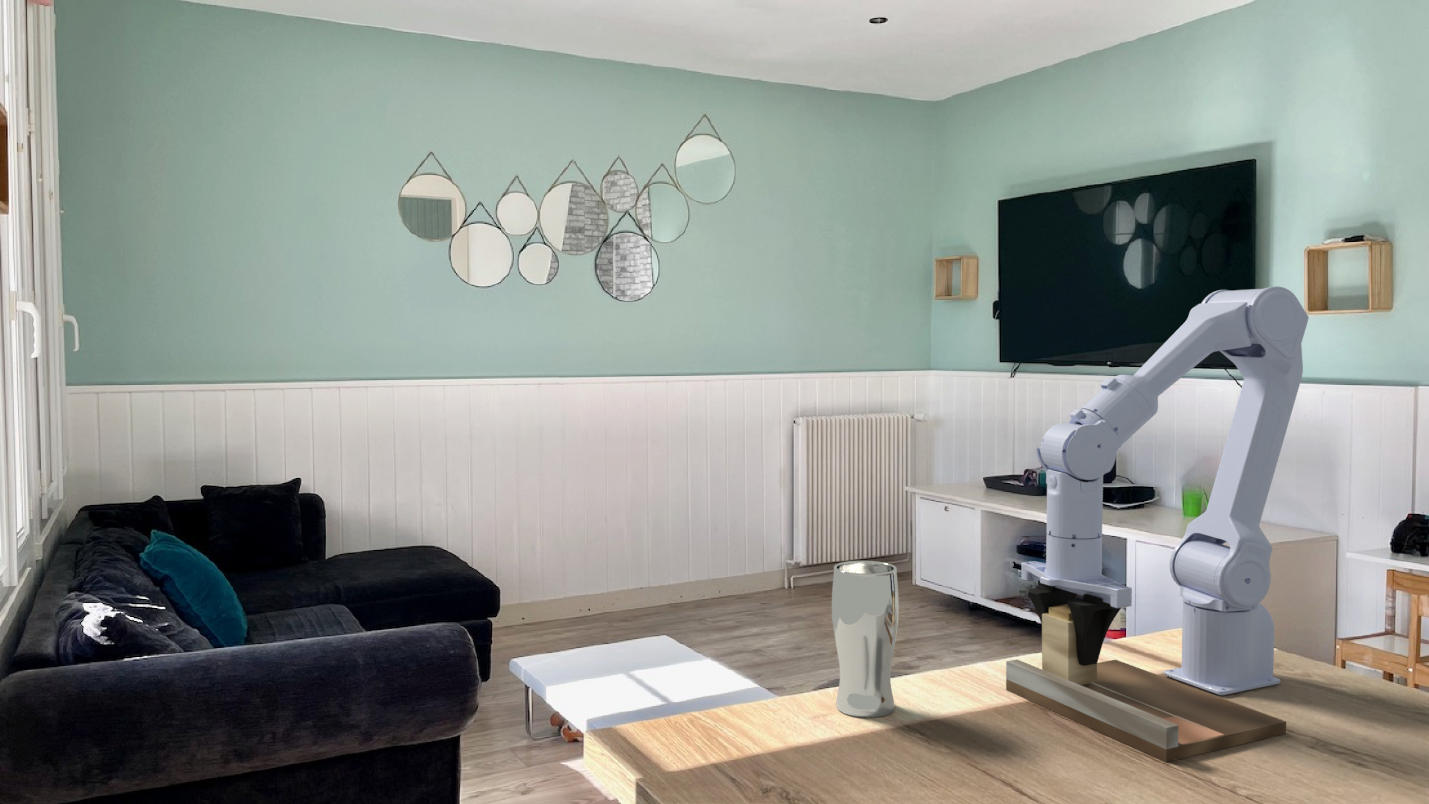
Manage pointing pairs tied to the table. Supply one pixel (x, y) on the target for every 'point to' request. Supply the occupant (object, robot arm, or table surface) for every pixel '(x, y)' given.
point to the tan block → (1063, 647)
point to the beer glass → (865, 635)
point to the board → (1145, 709)
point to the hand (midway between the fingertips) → (1072, 658)
